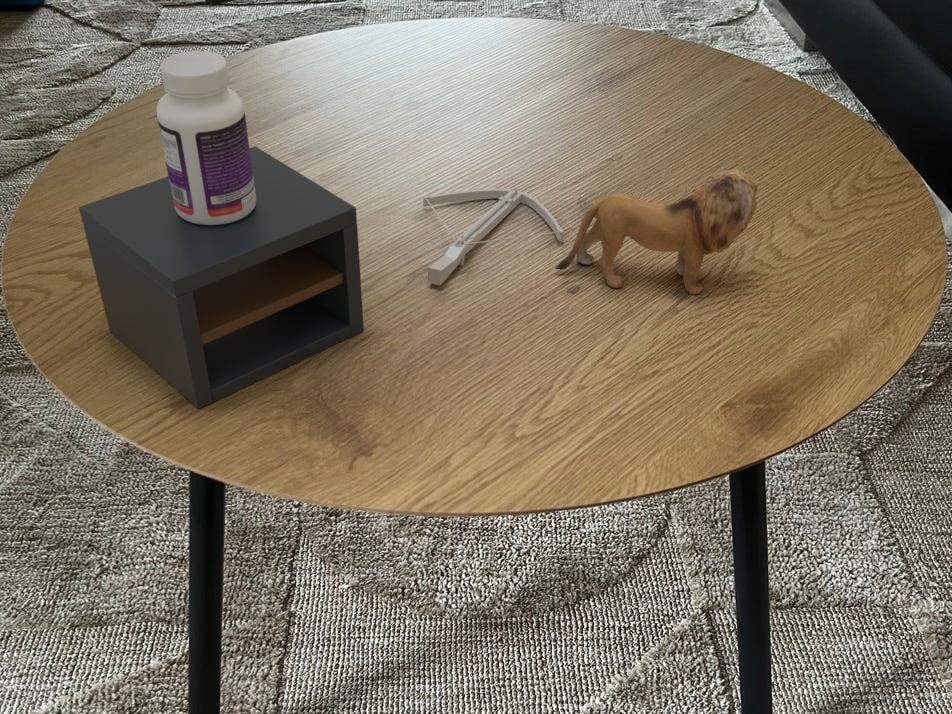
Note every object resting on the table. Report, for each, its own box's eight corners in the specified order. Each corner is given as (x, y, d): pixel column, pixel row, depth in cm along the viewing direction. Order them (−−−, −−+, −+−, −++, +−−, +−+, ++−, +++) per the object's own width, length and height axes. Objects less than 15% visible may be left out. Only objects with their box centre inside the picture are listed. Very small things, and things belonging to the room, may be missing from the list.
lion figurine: (735, 261, 88) (756, 156, 82) (746, 297, 85) (770, 190, 78) (553, 257, 88) (561, 153, 82) (556, 294, 84) (565, 186, 78)
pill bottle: (265, 190, 75) (248, 48, 68) (245, 230, 71) (225, 83, 64) (188, 185, 75) (163, 43, 69) (164, 224, 71) (135, 77, 65)
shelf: (109, 331, 80) (78, 206, 73) (270, 264, 87) (255, 145, 80) (198, 409, 73) (173, 281, 66) (364, 330, 80) (356, 207, 73)
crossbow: (452, 191, 98) (452, 169, 96) (584, 223, 94) (586, 201, 93) (362, 265, 86) (361, 241, 85) (508, 306, 83) (510, 282, 81)
